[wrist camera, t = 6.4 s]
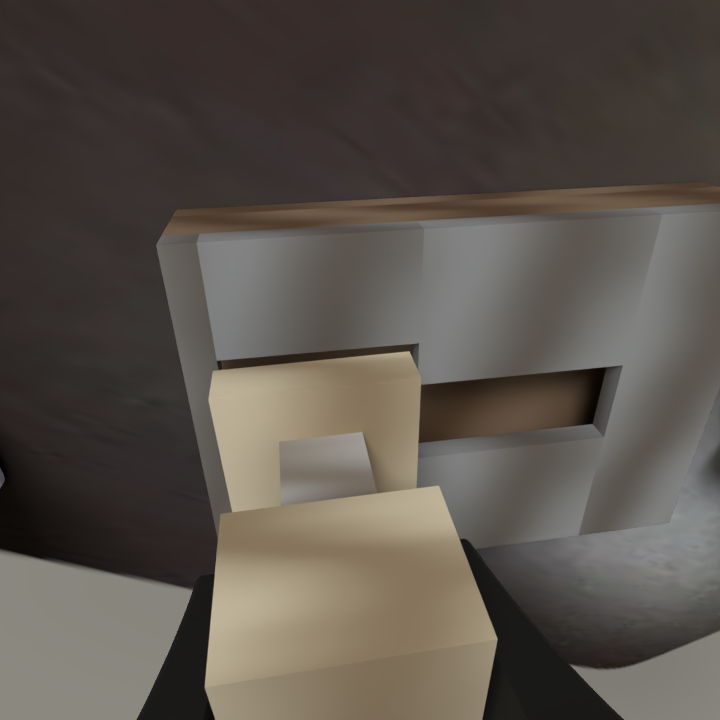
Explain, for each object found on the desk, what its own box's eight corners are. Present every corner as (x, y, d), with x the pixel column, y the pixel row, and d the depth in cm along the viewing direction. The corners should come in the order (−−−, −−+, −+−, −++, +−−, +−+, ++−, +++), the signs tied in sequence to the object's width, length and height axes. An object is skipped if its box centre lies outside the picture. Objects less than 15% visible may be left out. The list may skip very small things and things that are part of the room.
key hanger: (241, 511, 15) (226, 825, 9) (213, 370, 13) (167, 676, 7) (405, 490, 16) (492, 774, 10) (409, 351, 13) (529, 617, 7)
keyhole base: (232, 512, 23) (227, 582, 20) (176, 209, 17) (156, 244, 14) (620, 465, 25) (668, 523, 22) (702, 182, 19) (787, 207, 16)
